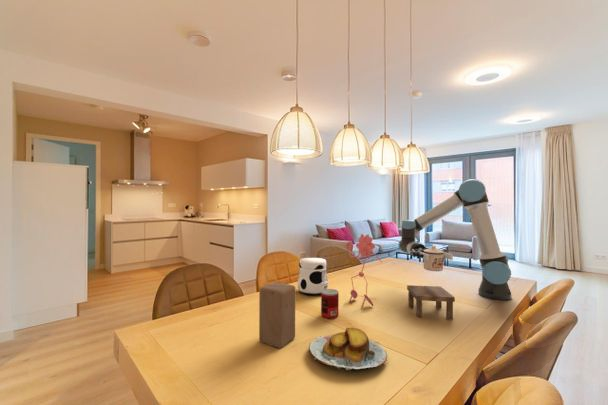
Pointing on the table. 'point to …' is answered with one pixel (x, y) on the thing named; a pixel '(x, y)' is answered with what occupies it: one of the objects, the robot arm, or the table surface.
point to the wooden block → (277, 314)
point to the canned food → (329, 303)
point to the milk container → (312, 276)
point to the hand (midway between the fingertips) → (440, 257)
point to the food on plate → (348, 350)
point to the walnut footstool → (430, 298)
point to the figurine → (365, 250)
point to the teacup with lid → (434, 259)
